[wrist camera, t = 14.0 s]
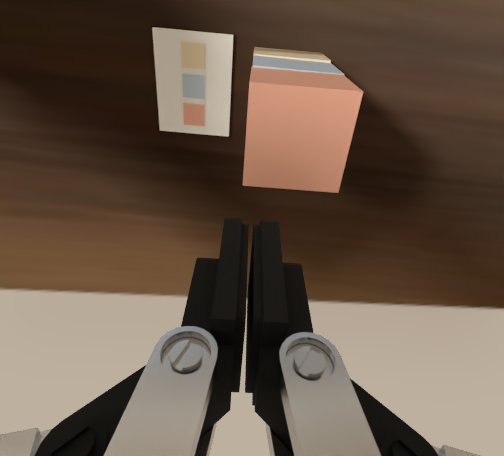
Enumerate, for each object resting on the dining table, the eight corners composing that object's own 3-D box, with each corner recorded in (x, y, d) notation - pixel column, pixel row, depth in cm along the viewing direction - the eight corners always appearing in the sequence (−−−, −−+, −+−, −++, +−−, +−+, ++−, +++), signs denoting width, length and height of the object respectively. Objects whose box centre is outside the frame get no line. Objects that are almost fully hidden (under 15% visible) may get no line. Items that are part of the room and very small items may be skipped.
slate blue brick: (253, 55, 26) (252, 65, 21) (330, 62, 26) (344, 74, 22) (247, 132, 29) (245, 153, 25) (315, 138, 29) (325, 160, 25)
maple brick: (254, 47, 30) (253, 54, 25) (321, 52, 30) (331, 60, 26) (249, 115, 33) (248, 131, 29) (309, 120, 33) (316, 136, 29)
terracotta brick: (251, 67, 21) (249, 81, 17) (343, 75, 22) (363, 91, 17) (245, 155, 25) (242, 185, 21) (325, 161, 25) (338, 192, 21)
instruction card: (153, 27, 29) (151, 27, 28) (233, 34, 29) (233, 35, 29) (160, 129, 34) (159, 131, 33) (229, 135, 34) (228, 137, 34)
